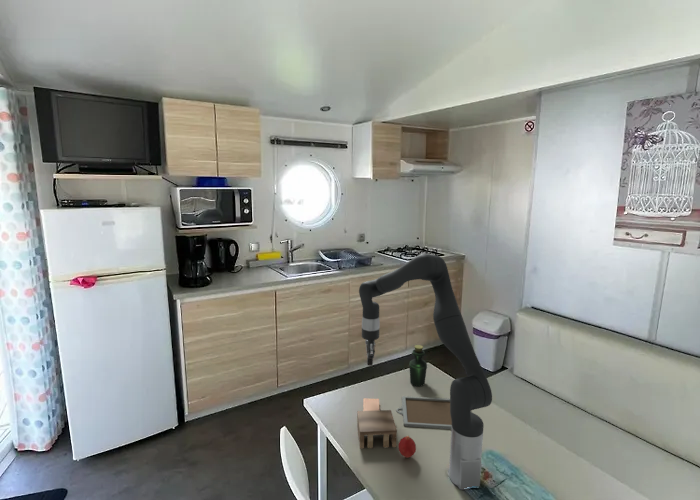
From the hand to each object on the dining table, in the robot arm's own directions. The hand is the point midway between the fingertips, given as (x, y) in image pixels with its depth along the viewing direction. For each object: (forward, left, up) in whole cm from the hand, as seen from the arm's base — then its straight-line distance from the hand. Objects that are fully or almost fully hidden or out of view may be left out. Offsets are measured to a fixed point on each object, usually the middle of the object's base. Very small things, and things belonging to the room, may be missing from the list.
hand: (369, 364), depth 159 cm
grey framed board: (-14, -24, -15) cm, 32 cm away
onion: (-38, -8, -15) cm, 42 cm away
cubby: (-27, +1, -14) cm, 31 cm away
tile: (-12, +1, -15) cm, 19 cm away
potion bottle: (+9, -23, -15) cm, 29 cm away
